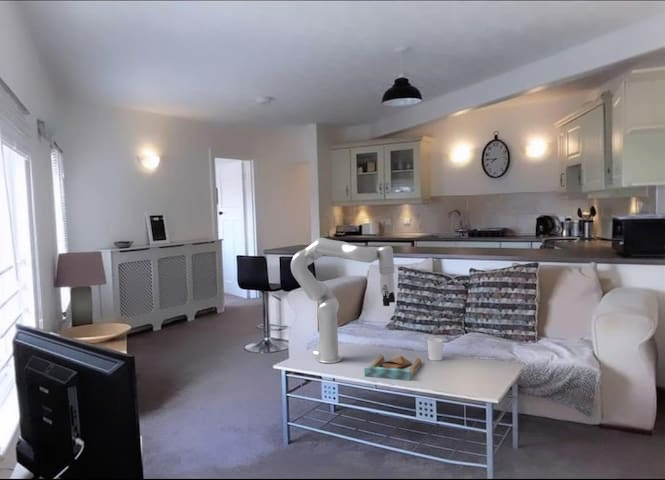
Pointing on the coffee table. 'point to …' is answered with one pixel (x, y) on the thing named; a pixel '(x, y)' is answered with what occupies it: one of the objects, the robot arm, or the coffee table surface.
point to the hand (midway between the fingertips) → (389, 304)
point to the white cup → (435, 348)
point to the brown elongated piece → (396, 363)
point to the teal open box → (390, 370)
